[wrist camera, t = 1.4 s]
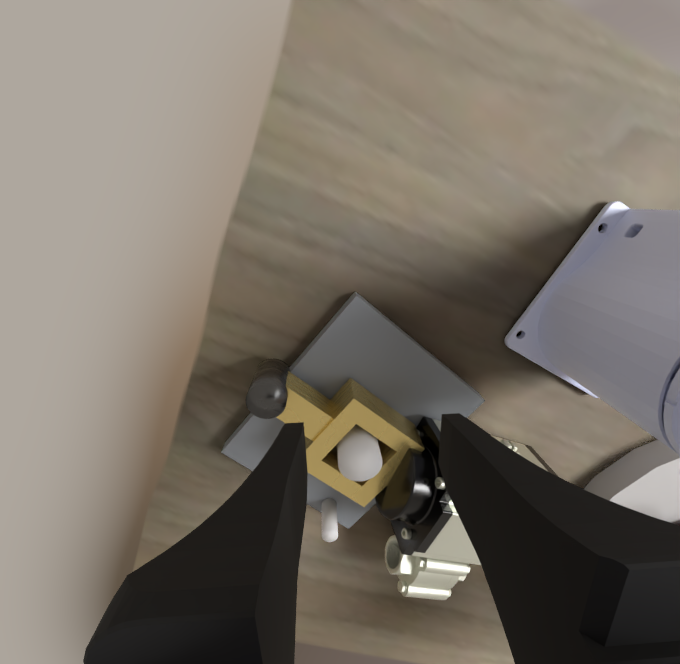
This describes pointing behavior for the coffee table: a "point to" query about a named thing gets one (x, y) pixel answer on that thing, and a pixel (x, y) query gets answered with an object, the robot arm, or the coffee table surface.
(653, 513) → the gramophone
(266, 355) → the coffee table surface
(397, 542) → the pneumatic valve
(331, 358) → the plate
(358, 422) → the square nut with handle
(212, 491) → the coffee table surface
